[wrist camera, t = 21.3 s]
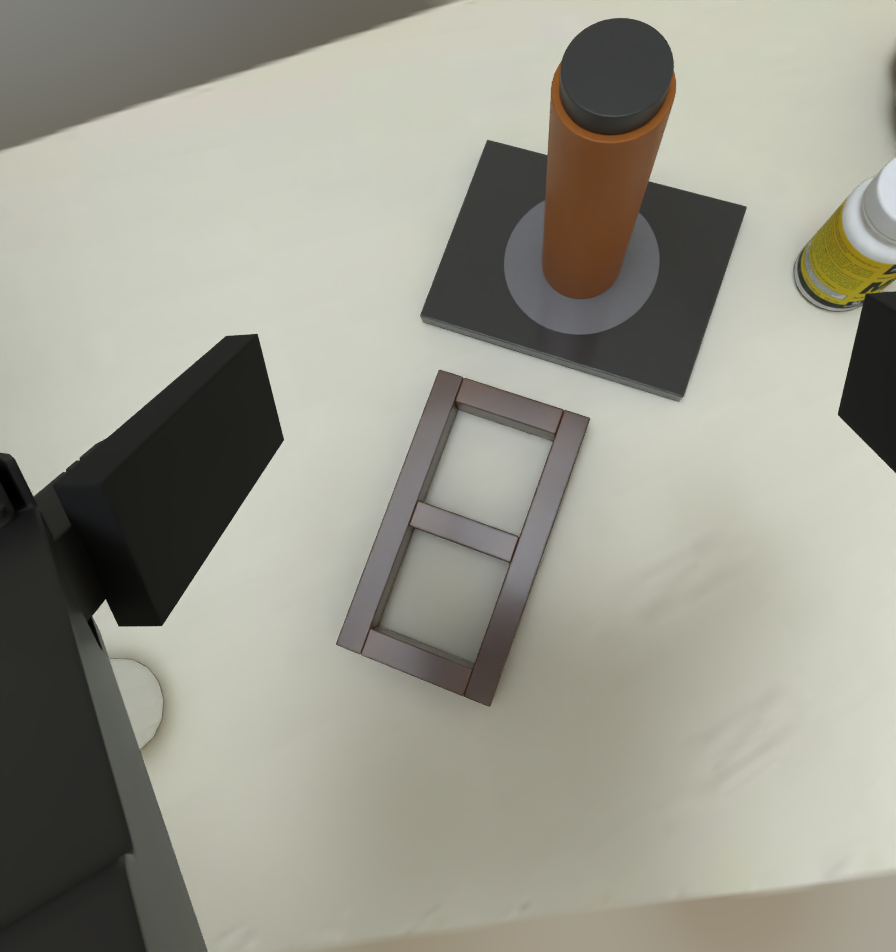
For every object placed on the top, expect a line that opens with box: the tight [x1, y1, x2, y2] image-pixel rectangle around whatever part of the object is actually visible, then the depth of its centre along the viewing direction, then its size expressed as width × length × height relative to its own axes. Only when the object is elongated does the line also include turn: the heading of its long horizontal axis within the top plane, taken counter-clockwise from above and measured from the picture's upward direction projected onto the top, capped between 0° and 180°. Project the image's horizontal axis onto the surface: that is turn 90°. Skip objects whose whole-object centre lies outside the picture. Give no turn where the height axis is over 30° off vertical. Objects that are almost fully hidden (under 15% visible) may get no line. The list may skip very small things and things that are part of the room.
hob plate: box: [420, 140, 747, 401], centre depth 39 cm, size 16×12×1 cm
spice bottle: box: [542, 18, 676, 299], centre depth 31 cm, size 5×5×15 cm
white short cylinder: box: [109, 659, 163, 749], centre depth 35 cm, size 7×7×7 cm
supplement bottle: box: [795, 157, 896, 311], centre depth 33 cm, size 5×5×8 cm
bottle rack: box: [336, 370, 590, 706], centre depth 37 cm, size 9×16×2 cm, turn 160°
